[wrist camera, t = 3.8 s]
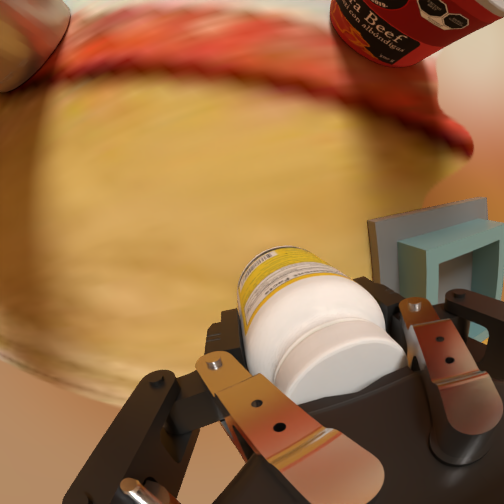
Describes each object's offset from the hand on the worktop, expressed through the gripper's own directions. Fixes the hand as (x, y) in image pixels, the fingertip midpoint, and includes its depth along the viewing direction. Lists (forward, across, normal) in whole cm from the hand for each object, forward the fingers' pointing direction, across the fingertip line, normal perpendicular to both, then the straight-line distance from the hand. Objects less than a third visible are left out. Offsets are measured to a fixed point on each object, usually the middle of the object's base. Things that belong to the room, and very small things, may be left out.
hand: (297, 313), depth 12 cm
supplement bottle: (+4, 0, 0) cm, 4 cm away
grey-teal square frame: (+4, -12, +3) cm, 13 cm away
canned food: (+4, -11, -17) cm, 21 cm away
